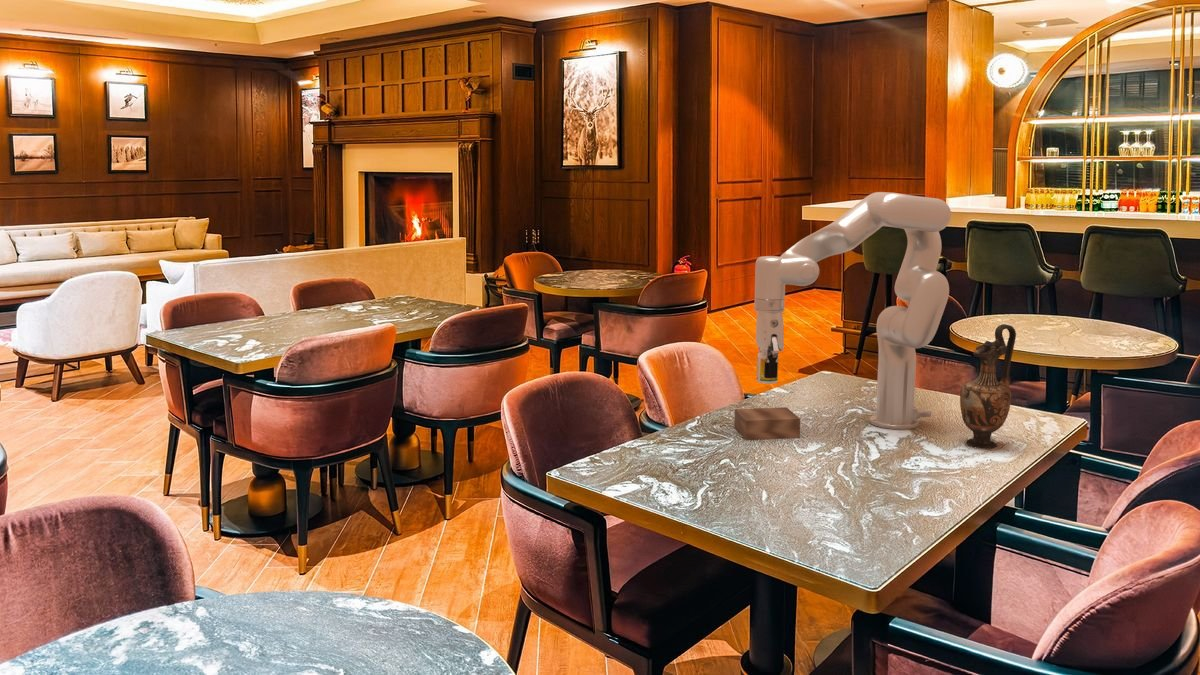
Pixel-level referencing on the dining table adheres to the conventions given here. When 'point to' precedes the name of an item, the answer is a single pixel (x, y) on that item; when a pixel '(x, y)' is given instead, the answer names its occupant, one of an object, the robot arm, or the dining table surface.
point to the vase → (988, 391)
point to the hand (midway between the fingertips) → (767, 374)
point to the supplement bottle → (761, 368)
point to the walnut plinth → (767, 423)
